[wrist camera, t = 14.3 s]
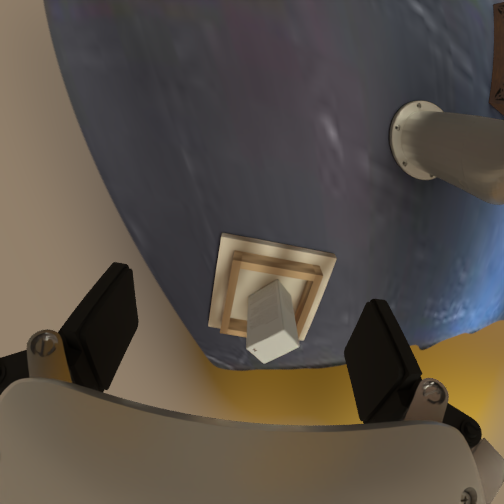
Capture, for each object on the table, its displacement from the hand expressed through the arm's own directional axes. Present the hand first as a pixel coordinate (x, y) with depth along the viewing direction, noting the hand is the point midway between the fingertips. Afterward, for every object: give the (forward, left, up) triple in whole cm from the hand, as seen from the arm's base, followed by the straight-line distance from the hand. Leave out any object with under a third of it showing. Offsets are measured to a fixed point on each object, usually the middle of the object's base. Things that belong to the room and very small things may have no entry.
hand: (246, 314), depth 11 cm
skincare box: (-6, +20, -30) cm, 36 cm away
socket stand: (-6, +20, -31) cm, 37 cm away
